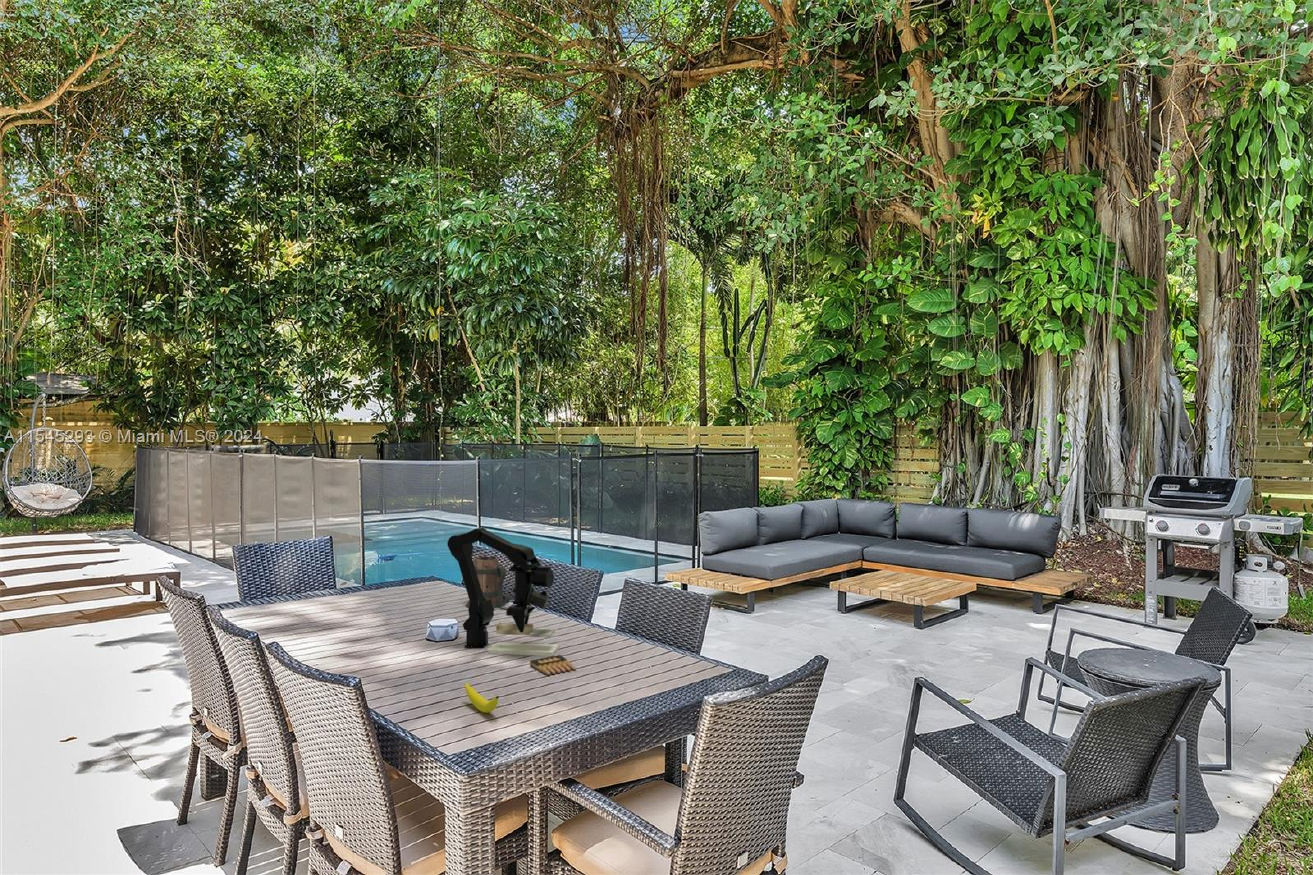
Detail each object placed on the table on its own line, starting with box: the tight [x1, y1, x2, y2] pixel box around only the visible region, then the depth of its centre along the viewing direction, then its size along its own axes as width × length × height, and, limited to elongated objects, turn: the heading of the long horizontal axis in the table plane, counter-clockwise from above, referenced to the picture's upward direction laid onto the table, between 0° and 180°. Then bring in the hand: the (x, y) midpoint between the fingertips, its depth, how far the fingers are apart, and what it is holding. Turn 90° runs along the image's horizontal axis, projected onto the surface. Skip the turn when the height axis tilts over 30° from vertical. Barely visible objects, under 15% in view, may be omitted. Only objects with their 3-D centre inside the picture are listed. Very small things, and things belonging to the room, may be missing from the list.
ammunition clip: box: [529, 654, 577, 676], centre depth 240 cm, size 11×2×12 cm
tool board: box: [487, 642, 560, 657], centre depth 259 cm, size 22×9×1 cm, turn 84°
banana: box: [464, 682, 500, 714], centre depth 205 cm, size 3×19×6 cm, turn 39°
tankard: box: [465, 555, 511, 610], centre depth 323 cm, size 24×17×20 cm
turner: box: [495, 622, 555, 638], centre depth 259 cm, size 19×6×3 cm, turn 82°
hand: (522, 630), depth 259 cm, fingers closed on turner, 3 cm apart
